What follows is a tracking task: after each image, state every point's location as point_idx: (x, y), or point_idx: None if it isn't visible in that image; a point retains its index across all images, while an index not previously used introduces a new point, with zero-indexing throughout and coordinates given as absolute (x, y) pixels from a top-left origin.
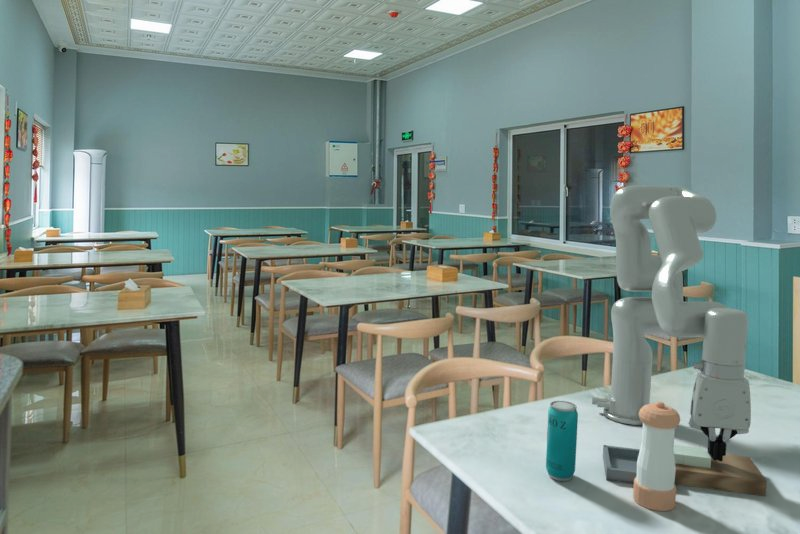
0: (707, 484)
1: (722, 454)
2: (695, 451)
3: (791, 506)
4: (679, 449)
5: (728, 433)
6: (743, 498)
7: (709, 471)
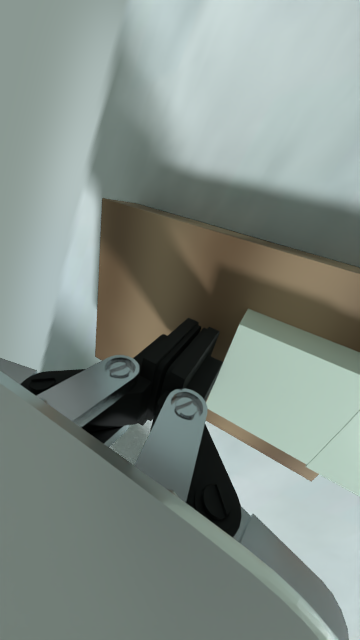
0: (297, 250)
1: (177, 329)
2: (270, 398)
3: (98, 140)
4: (346, 438)
5: (76, 387)
6: (207, 176)
7: (275, 278)
